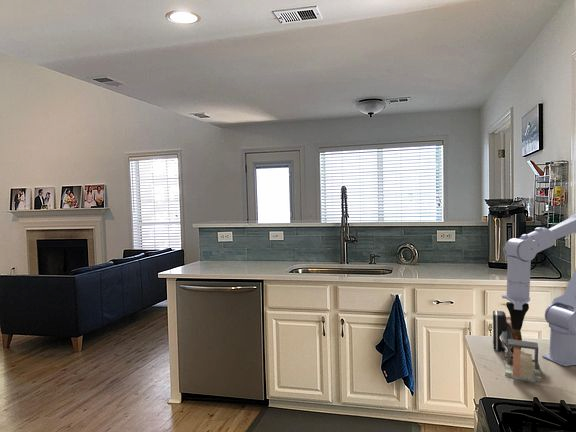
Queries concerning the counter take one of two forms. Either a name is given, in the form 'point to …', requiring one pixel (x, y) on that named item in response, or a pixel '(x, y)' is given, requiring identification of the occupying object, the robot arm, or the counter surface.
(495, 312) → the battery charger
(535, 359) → the grey box
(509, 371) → the track board
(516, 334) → the tin
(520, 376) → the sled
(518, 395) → the counter surface
